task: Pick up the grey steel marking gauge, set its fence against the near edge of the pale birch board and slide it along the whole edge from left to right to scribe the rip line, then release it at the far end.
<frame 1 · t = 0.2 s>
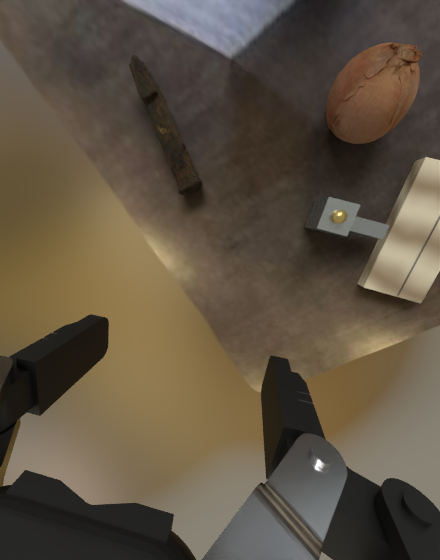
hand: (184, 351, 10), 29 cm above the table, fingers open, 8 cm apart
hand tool: (168, 136, 34), on the table
board: (413, 235, 33), on the table
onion: (351, 116, 30), on the table
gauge: (320, 218, 34), on the table
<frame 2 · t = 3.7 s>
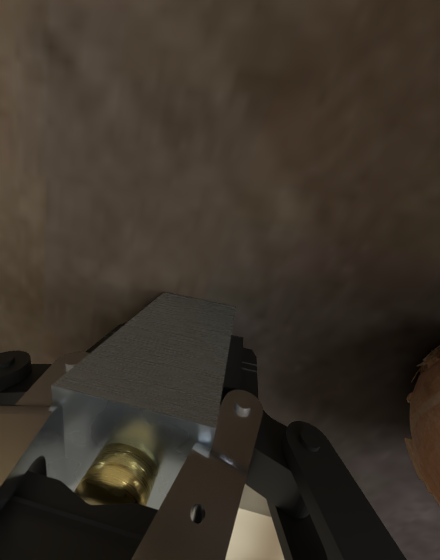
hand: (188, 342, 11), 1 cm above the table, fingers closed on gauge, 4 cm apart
board: (182, 499, 16), on the table
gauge: (194, 331, 12), on the table, touching gripper
when the fingers open (1 cm above the table, at t = 10.1 s): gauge stays where it is, on the table.
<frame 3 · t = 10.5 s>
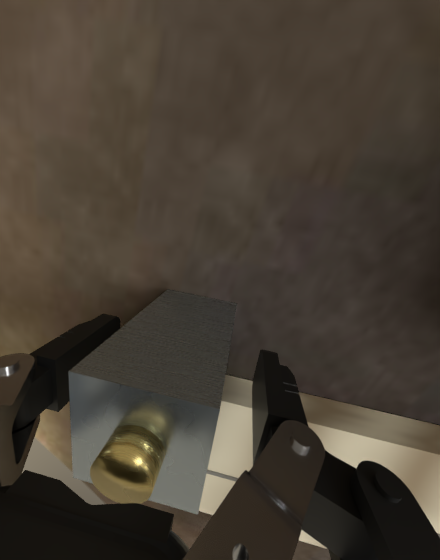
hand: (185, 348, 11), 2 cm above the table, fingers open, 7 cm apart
board: (277, 445, 14), on the table
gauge: (197, 327, 13), on the table
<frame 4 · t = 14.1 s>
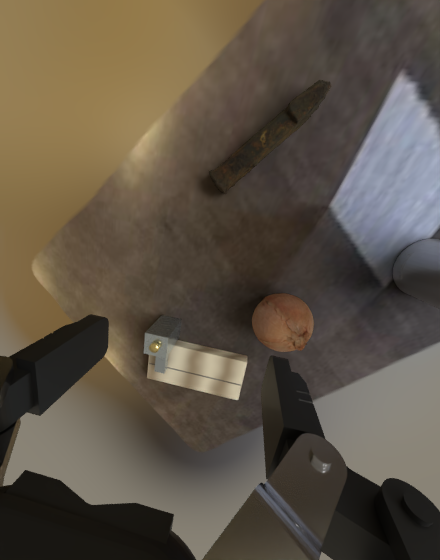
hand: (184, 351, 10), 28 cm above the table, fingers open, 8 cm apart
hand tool: (264, 142, 32), on the table
board: (197, 364, 44), on the table
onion: (278, 310, 39), on the table
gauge: (170, 326, 42), on the table
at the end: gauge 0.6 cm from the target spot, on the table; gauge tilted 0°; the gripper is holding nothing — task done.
